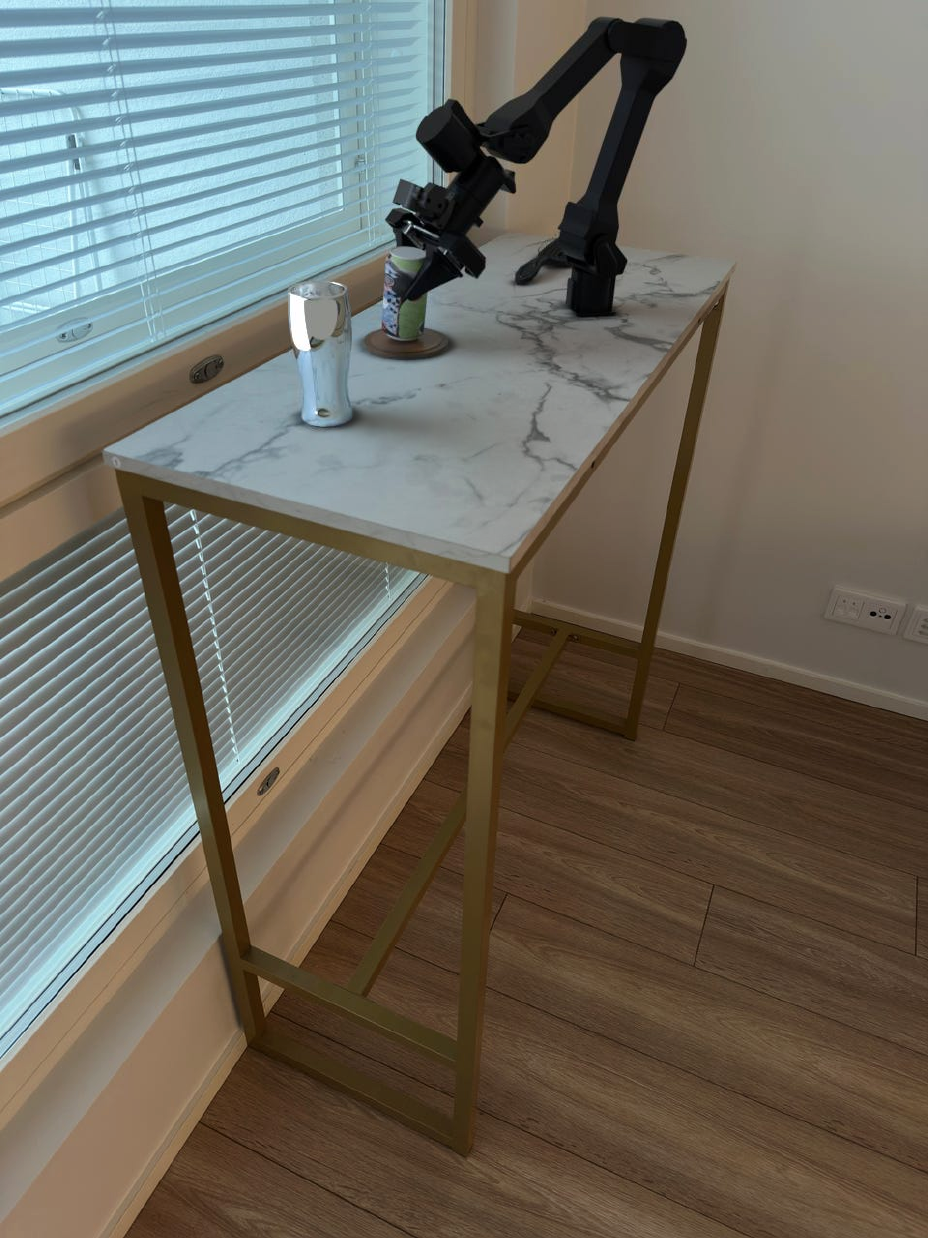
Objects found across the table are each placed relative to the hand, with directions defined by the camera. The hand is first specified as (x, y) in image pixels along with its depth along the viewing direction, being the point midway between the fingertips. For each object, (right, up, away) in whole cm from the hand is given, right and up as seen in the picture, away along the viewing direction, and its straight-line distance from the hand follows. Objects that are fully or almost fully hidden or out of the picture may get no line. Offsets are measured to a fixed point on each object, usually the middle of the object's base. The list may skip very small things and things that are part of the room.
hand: (397, 292), depth 124 cm
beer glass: (-7, -21, -15) cm, 26 cm away
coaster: (+1, -6, +5) cm, 7 cm away
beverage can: (+1, -5, +5) cm, 7 cm away
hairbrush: (+24, +18, +38) cm, 49 cm away
